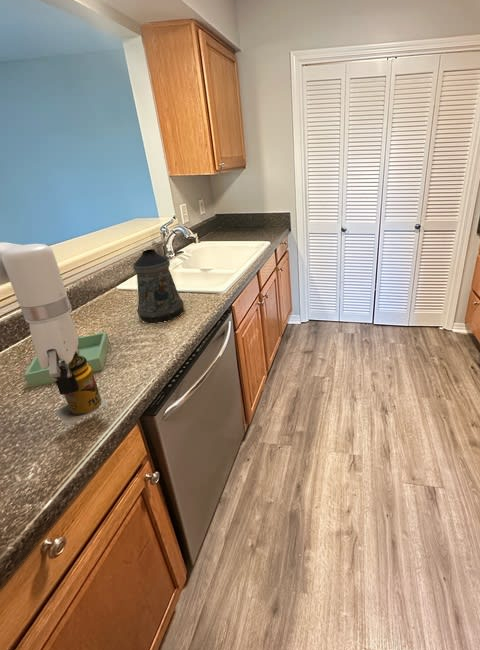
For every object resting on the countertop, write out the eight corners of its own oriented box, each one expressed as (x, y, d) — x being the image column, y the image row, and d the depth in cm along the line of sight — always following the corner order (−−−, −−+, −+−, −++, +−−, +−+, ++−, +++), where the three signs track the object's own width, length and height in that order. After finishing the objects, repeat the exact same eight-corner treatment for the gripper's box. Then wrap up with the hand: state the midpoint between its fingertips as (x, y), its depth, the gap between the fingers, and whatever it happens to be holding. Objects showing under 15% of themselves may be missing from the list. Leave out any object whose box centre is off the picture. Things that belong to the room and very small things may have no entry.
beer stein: (151, 328, 114) (134, 261, 105) (129, 313, 127) (112, 252, 117) (192, 312, 126) (180, 250, 116) (169, 299, 138) (156, 242, 128)
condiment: (109, 403, 74) (95, 359, 69) (67, 427, 67) (49, 380, 63) (94, 391, 78) (80, 348, 73) (54, 412, 71) (36, 367, 67)
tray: (29, 387, 87) (23, 375, 85) (46, 356, 101) (42, 344, 100) (102, 370, 93) (98, 358, 91) (109, 342, 107) (106, 331, 106)
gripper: (37, 295, 69) (62, 365, 76) (6, 332, 55) (41, 414, 61) (78, 289, 72) (99, 357, 79) (58, 323, 57) (86, 403, 64)
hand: (73, 381), depth 70 cm, fingers closed on condiment, 6 cm apart
